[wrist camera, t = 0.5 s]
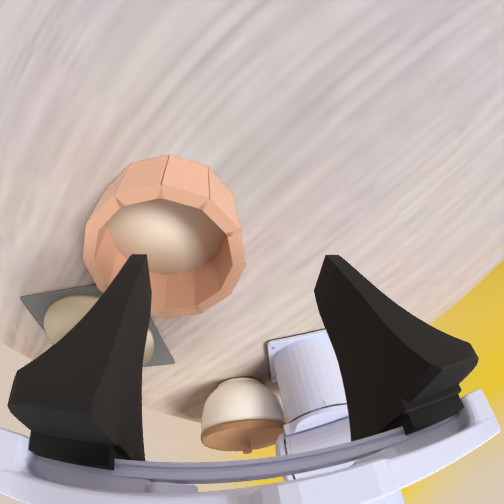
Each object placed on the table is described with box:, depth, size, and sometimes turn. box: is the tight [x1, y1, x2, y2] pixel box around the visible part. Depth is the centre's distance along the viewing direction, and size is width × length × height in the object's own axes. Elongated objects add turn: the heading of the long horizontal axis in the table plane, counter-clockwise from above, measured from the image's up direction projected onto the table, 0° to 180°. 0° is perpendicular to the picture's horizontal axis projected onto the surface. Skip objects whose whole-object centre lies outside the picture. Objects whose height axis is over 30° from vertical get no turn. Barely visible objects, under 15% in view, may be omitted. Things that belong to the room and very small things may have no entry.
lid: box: [44, 294, 154, 365], centre depth 26 cm, size 12×12×4 cm
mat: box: [20, 284, 175, 367], centre depth 28 cm, size 13×13×1 cm
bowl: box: [83, 155, 246, 319], centre depth 20 cm, size 10×10×4 cm
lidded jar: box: [201, 377, 287, 454], centre depth 34 cm, size 11×11×9 cm
